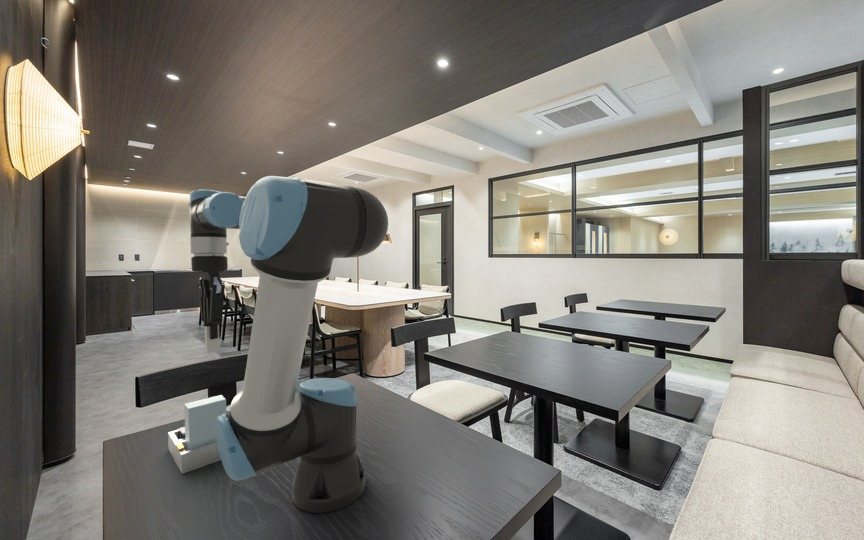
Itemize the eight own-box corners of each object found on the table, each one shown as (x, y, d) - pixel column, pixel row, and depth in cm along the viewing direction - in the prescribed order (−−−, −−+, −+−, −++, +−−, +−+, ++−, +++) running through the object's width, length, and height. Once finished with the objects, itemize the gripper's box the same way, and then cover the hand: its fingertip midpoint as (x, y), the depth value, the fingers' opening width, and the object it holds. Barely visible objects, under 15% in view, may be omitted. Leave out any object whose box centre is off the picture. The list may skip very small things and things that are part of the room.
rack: (238, 453, 92) (237, 432, 92) (181, 473, 84) (181, 450, 83) (220, 433, 103) (219, 414, 103) (168, 449, 94) (167, 428, 94)
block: (227, 446, 92) (226, 399, 91) (189, 458, 86) (188, 408, 86) (222, 440, 95) (221, 394, 94) (185, 452, 89) (184, 403, 88)
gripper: (235, 254, 87) (238, 353, 88) (218, 255, 96) (220, 344, 97) (199, 254, 82) (203, 359, 82) (184, 255, 91) (187, 350, 91)
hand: (212, 351), depth 90 cm, fingers closed
